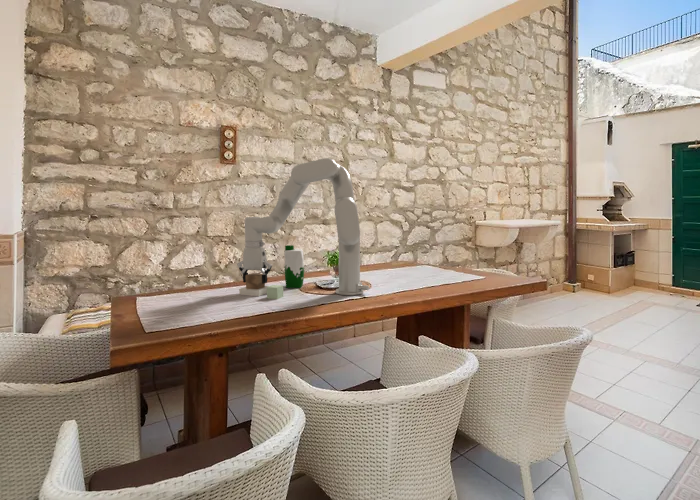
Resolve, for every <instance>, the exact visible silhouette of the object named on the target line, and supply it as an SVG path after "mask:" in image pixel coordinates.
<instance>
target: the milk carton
mask: <svg viewBox="0 0 700 500" xmlns="http://www.w3.org/2000/svg"><path fill="white" fill-rule="evenodd" d="M284 247H285V248H284V249H285V250H284V253H283V254H284V281H285V288H286V289H301V288H302V287H303V286H304V278H305V267H304V266H305V260H304V258H305V257H304V249H302V248H295V247H294V245H292V244H291V245H290V244H288V245H285V246H284Z"/></svg>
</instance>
